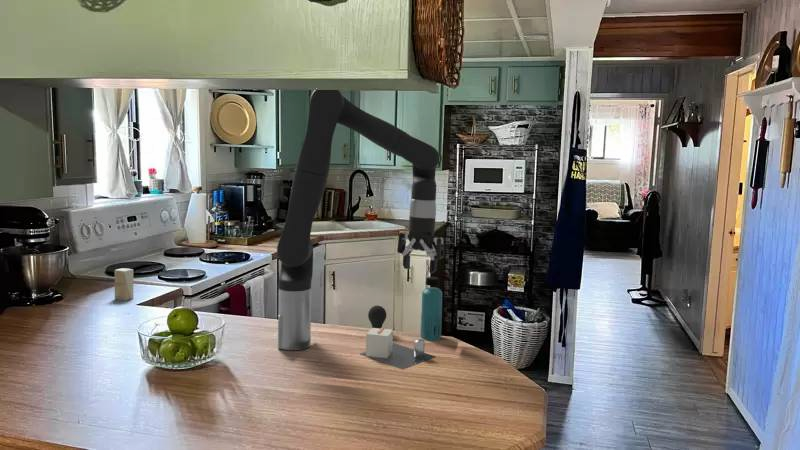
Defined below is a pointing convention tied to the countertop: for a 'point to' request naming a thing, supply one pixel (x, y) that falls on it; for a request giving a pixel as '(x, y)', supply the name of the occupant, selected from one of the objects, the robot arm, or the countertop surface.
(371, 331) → the white box
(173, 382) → the countertop surface
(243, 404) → the countertop surface
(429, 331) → the beverage bottle
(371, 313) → the light bulb
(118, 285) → the cream upright cylinder
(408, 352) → the plate
